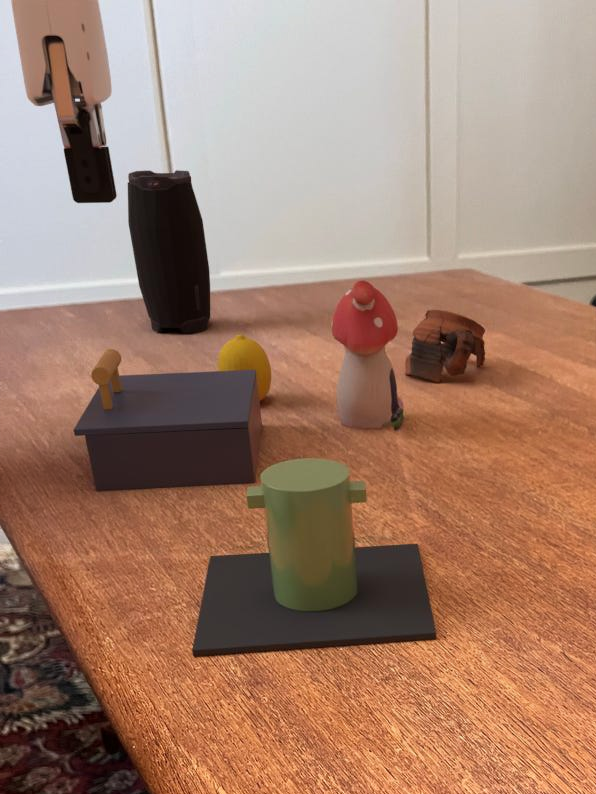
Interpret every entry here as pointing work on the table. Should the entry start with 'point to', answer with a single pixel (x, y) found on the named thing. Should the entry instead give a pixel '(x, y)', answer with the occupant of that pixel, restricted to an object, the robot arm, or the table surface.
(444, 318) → the brown carved piece
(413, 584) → the grey mat
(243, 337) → the lemon
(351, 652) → the table surface
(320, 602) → the green pot
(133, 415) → the box lid
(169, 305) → the portable speaker
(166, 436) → the box
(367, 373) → the decorative ornament
